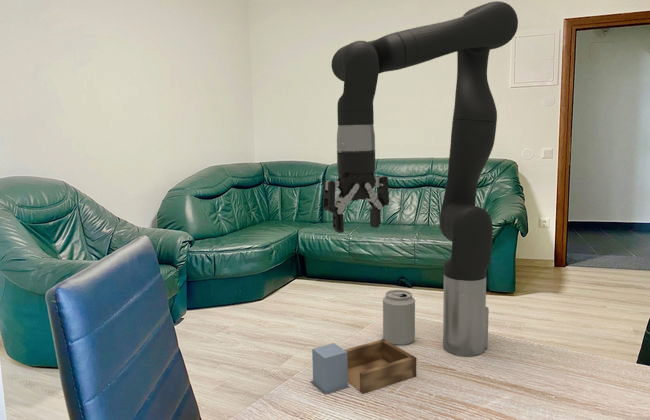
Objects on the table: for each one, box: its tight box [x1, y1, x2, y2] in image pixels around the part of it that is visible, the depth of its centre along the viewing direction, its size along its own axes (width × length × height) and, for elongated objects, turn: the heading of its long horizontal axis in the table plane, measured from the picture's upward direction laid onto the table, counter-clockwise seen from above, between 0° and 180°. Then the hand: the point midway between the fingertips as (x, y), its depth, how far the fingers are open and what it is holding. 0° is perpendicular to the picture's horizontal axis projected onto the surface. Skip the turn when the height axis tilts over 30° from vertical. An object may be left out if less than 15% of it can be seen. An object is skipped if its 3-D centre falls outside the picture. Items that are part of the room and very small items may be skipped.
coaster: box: [310, 380, 350, 396], centre depth 99 cm, size 6×6×1 cm
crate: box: [344, 338, 417, 395], centre depth 102 cm, size 13×11×4 cm
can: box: [382, 289, 416, 346], centre depth 119 cm, size 8×8×12 cm
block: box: [311, 342, 349, 393], centre depth 98 cm, size 5×5×7 cm
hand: (357, 229), depth 101 cm, fingers open, 8 cm apart
